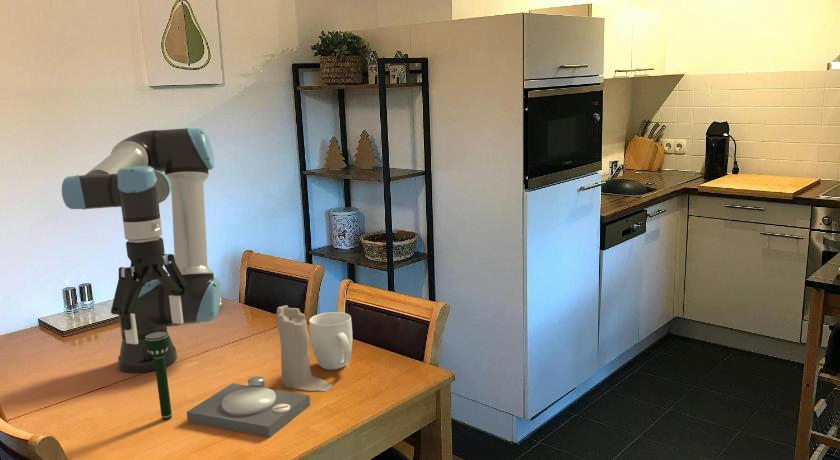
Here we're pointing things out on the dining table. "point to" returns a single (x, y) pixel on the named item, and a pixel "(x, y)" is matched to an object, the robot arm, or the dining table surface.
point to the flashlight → (160, 368)
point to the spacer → (256, 381)
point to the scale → (249, 409)
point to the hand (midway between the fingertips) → (156, 332)
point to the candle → (296, 351)
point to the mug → (331, 339)
